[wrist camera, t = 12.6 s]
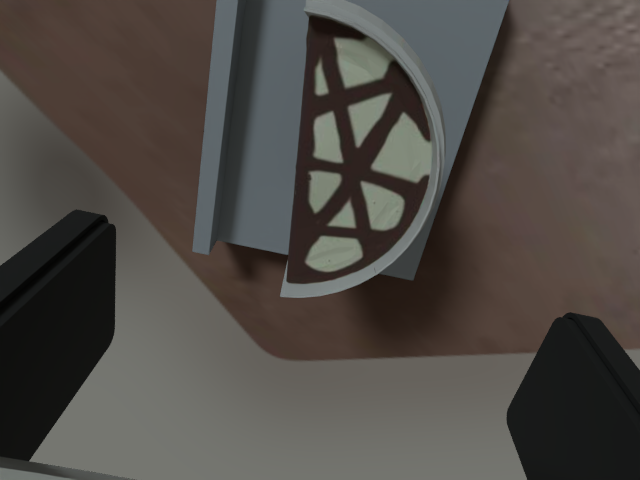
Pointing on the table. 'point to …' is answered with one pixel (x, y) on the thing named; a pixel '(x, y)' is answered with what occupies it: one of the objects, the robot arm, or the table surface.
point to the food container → (360, 151)
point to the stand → (286, 100)
